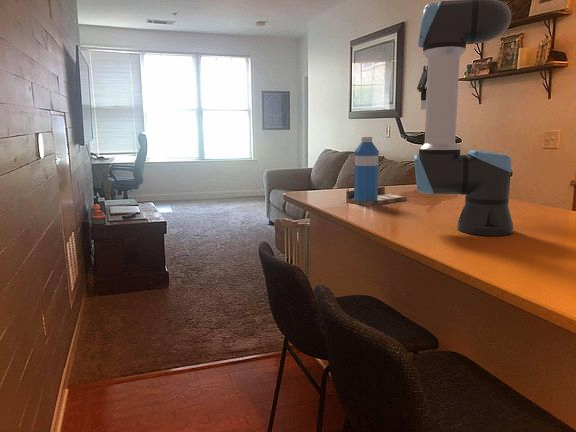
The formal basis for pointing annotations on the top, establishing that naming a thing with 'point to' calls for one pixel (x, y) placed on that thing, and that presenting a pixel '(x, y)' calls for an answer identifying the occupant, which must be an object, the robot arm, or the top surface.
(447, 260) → the top surface
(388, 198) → the ledge board
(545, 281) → the top surface
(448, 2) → the robot arm
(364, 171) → the water bottle
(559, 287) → the top surface
